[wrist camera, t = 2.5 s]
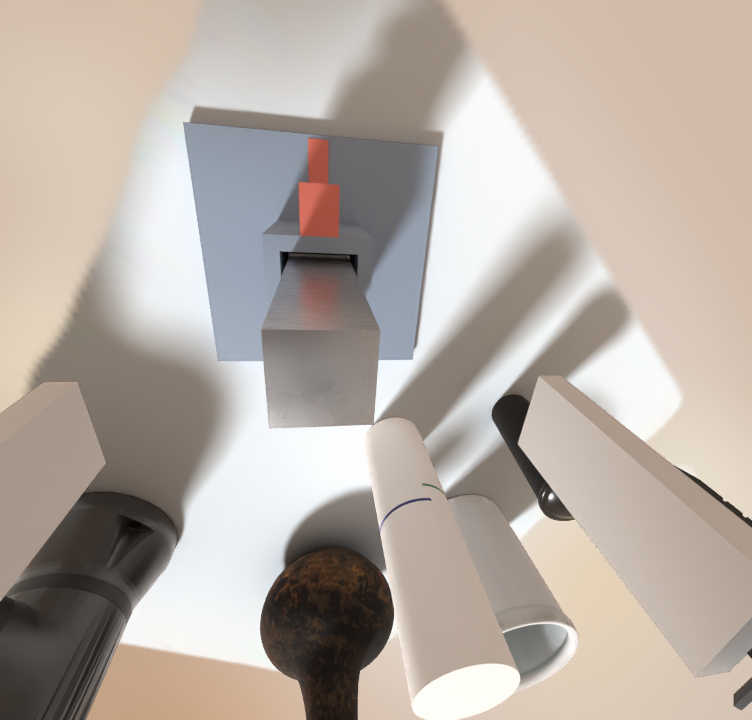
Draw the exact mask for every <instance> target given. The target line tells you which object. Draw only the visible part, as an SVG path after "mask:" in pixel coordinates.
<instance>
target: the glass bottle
mask: <svg viewBox="0 0 752 720" xmlns="http://www.w3.org/2000/svg"><path fill="white" fill-rule="evenodd" d="M393 620H394V606H393V600H392V595H391V590H390V587H389V585H388V583H387V581H386V579H385V577H384V575H383V574H382V572H381V571H380V570H379V569H378V568H377V567H376V566H375V565H374V564H373V563H372V562H371V561H369V560H368V559H367V558H366V557H364V556H362V555H361V554H358V553H356V552H354V551H351V550H348V549H342V548H326V549H321V550H317V551H314V552H311V553H308V554H306V555H304V556H302V557H300V558H299V559H297V560H296V561H294V562H293V563H291V564H290V565H289V566H288V567H287V568H286V569H285V570H284V571H283V572H282V573H281V574H280V575H279V576H278V578H277V579H276V580H275V582H274V584H273V585H272V587H271V589H270V591H269V593H268V595H267V597H266V600H265V603H264V606H263V609H262V614H261V622H260V633H261V640H262V644H263V647H264V650H265V652H266V654H267V656H268V658H269V659H270V661H271V662H272V664H273V665H274V666H275V667H276V668H277V669H278V670H279V671H281V672H282V673H283V674H285V675H287V676H289V677H290V678H293V679H296V680H298V682H299V684H300V687H301V691H302V695H303V701H304V705H305V712H306V720H358V711H357V710H358V699H357V698H358V681H359V674H360V670H362V669H363V668H365V667H366V666H367V665H369V664H370V663H371V662H372V661H373V660H374V659H375V658H376V657H377V656H378V655H379V654H380V652H381V651H382V650H383V648H384V646H385V645H386V643H387V641H388V639H389V636H390V633H391V630H392V626H393Z"/></svg>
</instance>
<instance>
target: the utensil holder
mask: <svg viewBox="0 0 752 720" xmlns="http://www.w3.org/2000/svg"><path fill="white" fill-rule="evenodd" d="M447 501H448V503H449V505H450V508H451V510H452V512H453V515H454V517H455V520H456V522H457V524H458V527H459V529H460V532H461V534H462V537H463V539H464V541H465V544H466V546H467V549H468V551H469V553H470V556H471V558H472V561H473V563H474V565H475V568H476V570H477V573H478V575H479V578H480V580H481V582H482V585H483V587H484V590H485V592H486V594H487V597H488V599H489V602H490V604H491V606H492V609H493V611H494V614H495V616H496V619H497V621H498V623H499V626H500V628H501V631H502V633H503V635H504V638H505V640H506V643H507V645H508V647H509V650H510V652H511V655H512V657H513V660H514V662H515V664H516V667H517V669H518V672H519V674H520V683H519V685H518V687H517V689H516V690H515V691H514V692H517V691H520V690H523V689H526V688H528V687H531V686H533V685H535V684H537V683H539V682H541V681H543V680H545V679H547V678H548V677H550V676H552V675H553V674H555V673H556V672H557V671H559V670H560V669H561V668H562V667H563V666H564V665H565V664H567V662H568V661H569V660H570V659H571V658H572V657H573V655H574V653H575V652H576V650H577V647H578V643H579V637H578V633H577V630H576V629H575V626H574V625H573V623H572V622H571V620H570V619H569V618H568V616H566V615H565V614H564V613H563V611H562V609H561V608H560V606H559V604H558V603H557V601H556V599H555V598H554V596H553V594H552V593H551V591H550V590H549V588H548V586H547V585H546V583H545V581H544V580H543V578H542V576H541V575H540V574H539V572H538V570H537V568H536V567H535V565H534V564H533V562H532V560H531V559H530V557H529V555H528V554H527V552H526V550H525V549H524V547H523V545H522V544H521V542H520V541H519V539H518V537H517V536H516V534H515V533H514V531H513V529H512V528H511V526H510V525H509V523H508V521H507V520H506V518H505V517H504V515H503V514H502V512H501V511H500V509H499V508H498V506H497V505H496V504H495V503H494V502H493V501H492V500H490V499H488V498H486V497H483V496H479V495H462V496H457V497H454V498H451V499H448V500H447ZM514 692H513V693H514Z"/></svg>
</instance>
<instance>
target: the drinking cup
mask: <svg viewBox="0 0 752 720" xmlns="http://www.w3.org/2000/svg"><path fill="white" fill-rule="evenodd" d="M529 406H530V402H528V401H527V400H526V399H525V398H524V397H522V396H520V395H508V396H505V397H503V398H502V399H500V400H499V401H498V402H497V403H496V404H495V406H494V407H493V410H492V419H493V421H494V423H495V424H496V426H497V428H498V430H499V431H500V433H501V435H502V437H503V438H504V440H505V442H506V444H507V445H508V447H509V449H510V451H511V452H512V454H513V456H514V458H515V459H516V461H517V463H518V465H519V466H520V468H521V470H522V472H523V473H524V475H525V477H526V479H527V480H528V482H529V484H530V486H531V487H532V489H533V491H534V493H535V494H536V496H537V498H538V503H539V506H540V509H541V510H542V512H543V513H544V514H545V515H546V516H547V517H549V518H551V519H553V520H558V521H569V520H575V519H574V517H573V516H572V515H571V513H570V512H569V511H568V509H567V508H566V507H565V505H564V504H563V503H562V502H561V500H560V499H559V498H558V496H557V495H556V494H555V492H554V491H553V490H552V488H551V487H550V486H549V484H548V483H547V482H546V480H545V479H544V478H543V477H542V475H541V474H540V473H539V471H538V470H537V469H536V467H535V466H534V465H533V463H532V462H531V461H530V459H529V458H528V457H527V455H526V454H525V453H524V452H523V450H522V449H521V448H520V446H519V445H518V441H519V438H520V435H521V432H522V428H523V425H524V422H525V419H526V415H527V412H528V409H529Z"/></svg>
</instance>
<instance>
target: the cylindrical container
mask: <svg viewBox="0 0 752 720" xmlns="http://www.w3.org/2000/svg"><path fill="white" fill-rule="evenodd" d="M364 447H365V452H366V458H367V463H368V469H369V474H370V480H371V485H372V491H373V496H374V502H375V507H376V513H377V518H378V524H379V529H380V534H381V540H382V546H383V551H384V556H385V562H386V567H387V573H388V578H389V584H390V589H391V595H392V600H393V606H394V611H395V617H396V622H397V628H398V633H399V638H400V644H401V649H402V655H403V660H404V666H405V672H406V677H407V683H408V688H409V694H410V698H411V704H412V709H413V711H414V713H415V714H416V715H417V716H418V717H421V718H423V719H426V720H457V719H462V718H466V717H470V716H473V715H476V714H479V713H481V712H484V711H486V710H488V709H491V708H492V707H494V706H496V705H498V704H499V703H501V702H503V701H504V700H505V699H507V698H508V697H509V696H510V695H511V694H512V693H513V692H514V691H515V690H516V689H517V687H518V685H519V683H520V674H519V672H518V669H517V667H516V664H515V662H514V660H513V657H512V655H511V652H510V650H509V647H508V645H507V643H506V640H505V638H504V635H503V633H502V631H501V628H500V626H499V623H498V621H497V619H496V616H495V614H494V611H493V609H492V606H491V604H490V602H489V599H488V597H487V594H486V592H485V590H484V587H483V585H482V582H481V580H480V578H479V575H478V573H477V570H476V568H475V565H474V563H473V561H472V558H471V556H470V553H469V551H468V549H467V546H466V544H465V541H464V539H463V537H462V534H461V532H460V529H459V527H458V524H457V522H456V520H455V517H454V515H453V512H452V510H451V508H450V505H449V503H448V501H447V498H446V496H445V493H444V491H443V489H442V486H441V484H440V481H439V479H438V476H437V474H436V472H435V469H434V467H433V464H432V462H431V460H430V457H429V455H428V452H427V450H426V447H425V445H424V443H423V440H422V438H421V435H420V433H419V431H418V429H417V427H416V426H415V425H414V423H412V422H411V421H409V420H407V419H404V418H398V417H393V418H387V419H384V420H382V421H379V422H378V423H376V424H375V425H373V426H372V427H371V428H370V429H369V431H368V432H367V434H366V436H365V440H364Z"/></svg>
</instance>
